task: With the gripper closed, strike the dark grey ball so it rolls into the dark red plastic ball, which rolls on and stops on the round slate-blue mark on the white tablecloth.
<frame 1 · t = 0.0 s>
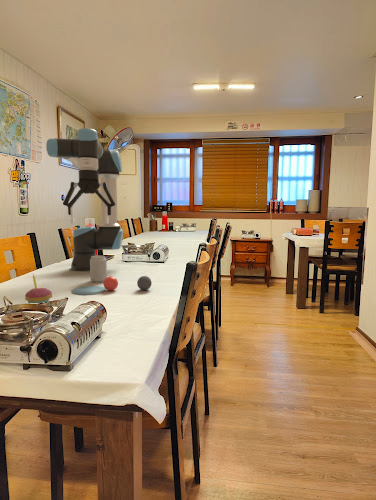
hand: (90, 223, 134), 28 cm above the table, tool pointing down, fingers open, 13 cm apart
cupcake: (39, 308, 115), on the table
can: (98, 281, 155), on the table
object ball: (110, 283, 139), on the table
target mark: (88, 290, 138), on the table
dark grey ball: (144, 283, 140), on the table
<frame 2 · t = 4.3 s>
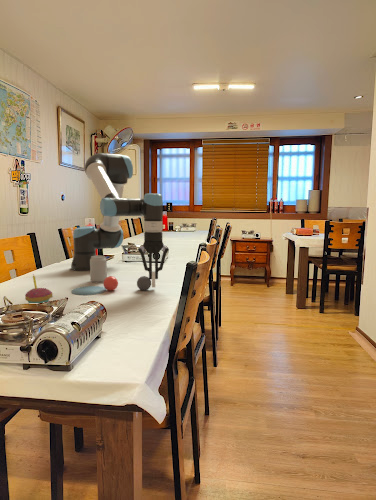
hand: (153, 286, 141), 1 cm above the table, tool pointing down, fingers closed
dark grey ball: (144, 283, 140), on the table, touching gripper
everything else where it was.
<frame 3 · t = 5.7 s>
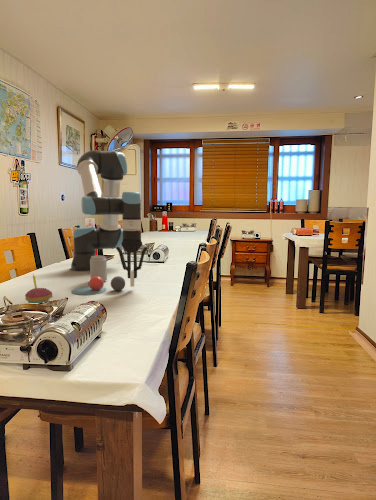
hand: (132, 285, 140), 2 cm above the table, tool pointing down, fingers closed
object ball: (96, 283, 138), on the table
dark grey ball: (118, 283, 139), on the table
everything else where it was.
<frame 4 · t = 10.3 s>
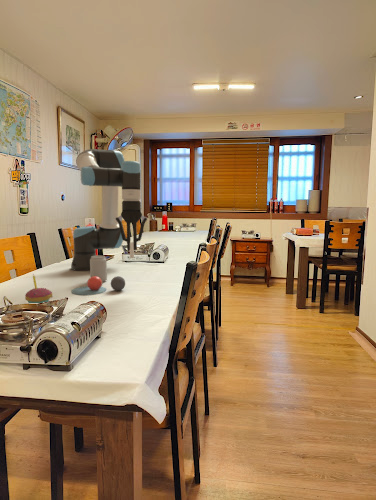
hand: (132, 257, 138), 14 cm above the table, tool pointing down, fingers closed
at the end: object ball 2.4 cm from the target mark (horizontally); object ball never touched the robot; dark grey ball first touched object ball at 4.8 s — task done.
